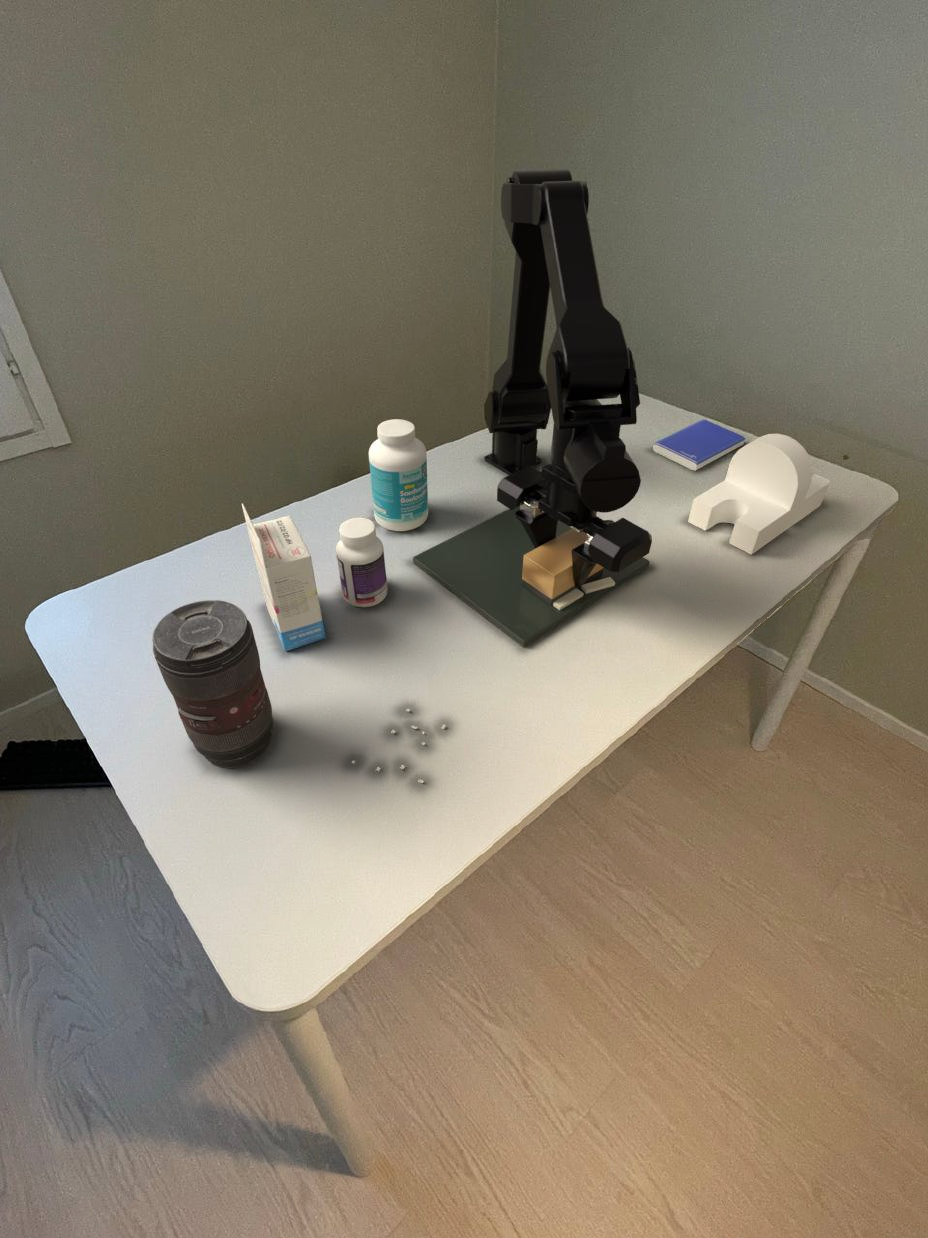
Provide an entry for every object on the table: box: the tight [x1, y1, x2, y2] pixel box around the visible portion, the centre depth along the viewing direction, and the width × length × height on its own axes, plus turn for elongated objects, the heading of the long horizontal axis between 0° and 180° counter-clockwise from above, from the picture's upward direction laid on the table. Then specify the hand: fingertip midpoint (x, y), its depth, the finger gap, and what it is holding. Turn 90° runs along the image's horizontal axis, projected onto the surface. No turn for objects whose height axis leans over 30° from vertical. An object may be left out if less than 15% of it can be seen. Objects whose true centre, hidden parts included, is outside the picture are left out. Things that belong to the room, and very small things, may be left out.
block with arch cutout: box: [687, 433, 830, 555], centre depth 94 cm, size 18×10×11 cm, turn 131°
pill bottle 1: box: [335, 517, 389, 608], centre depth 82 cm, size 5×5×10 cm
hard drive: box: [652, 419, 746, 471], centre depth 110 cm, size 2×8×12 cm
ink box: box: [241, 503, 327, 652], centre depth 76 cm, size 8×5×15 cm, turn 26°
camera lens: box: [152, 599, 274, 769], centre depth 64 cm, size 8×8×15 cm
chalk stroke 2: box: [581, 577, 615, 594], centre depth 84 cm, size 4×1×1 cm, turn 113°
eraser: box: [522, 529, 604, 605], centre depth 84 cm, size 5×9×4 cm, turn 131°
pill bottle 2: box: [368, 418, 429, 532], centre depth 92 cm, size 8×7×14 cm
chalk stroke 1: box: [553, 588, 584, 610], centre depth 82 cm, size 4×1×1 cm, turn 131°
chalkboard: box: [412, 506, 651, 648], centre depth 89 cm, size 20×22×1 cm
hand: (562, 574), depth 85 cm, fingers closed on eraser, 5 cm apart
